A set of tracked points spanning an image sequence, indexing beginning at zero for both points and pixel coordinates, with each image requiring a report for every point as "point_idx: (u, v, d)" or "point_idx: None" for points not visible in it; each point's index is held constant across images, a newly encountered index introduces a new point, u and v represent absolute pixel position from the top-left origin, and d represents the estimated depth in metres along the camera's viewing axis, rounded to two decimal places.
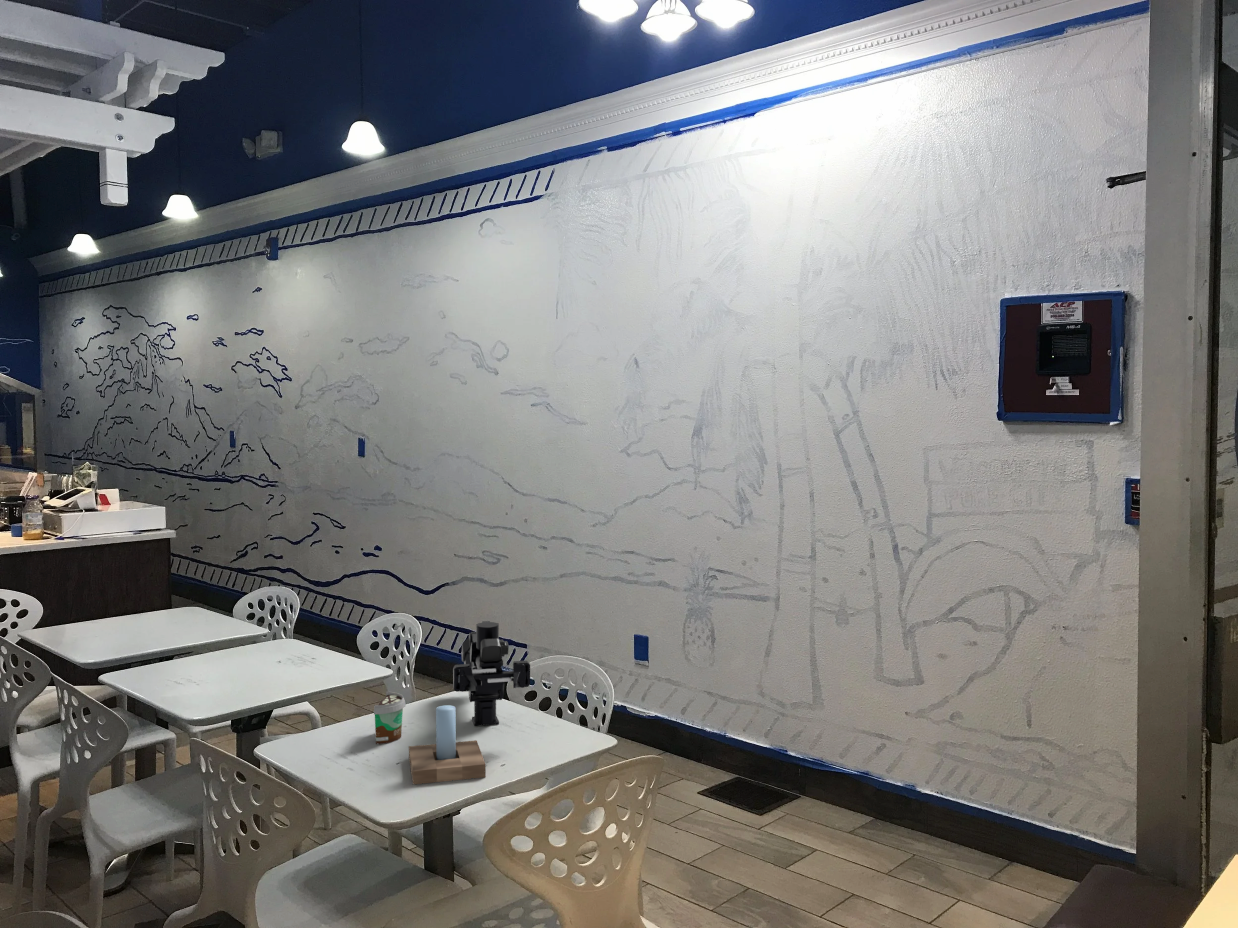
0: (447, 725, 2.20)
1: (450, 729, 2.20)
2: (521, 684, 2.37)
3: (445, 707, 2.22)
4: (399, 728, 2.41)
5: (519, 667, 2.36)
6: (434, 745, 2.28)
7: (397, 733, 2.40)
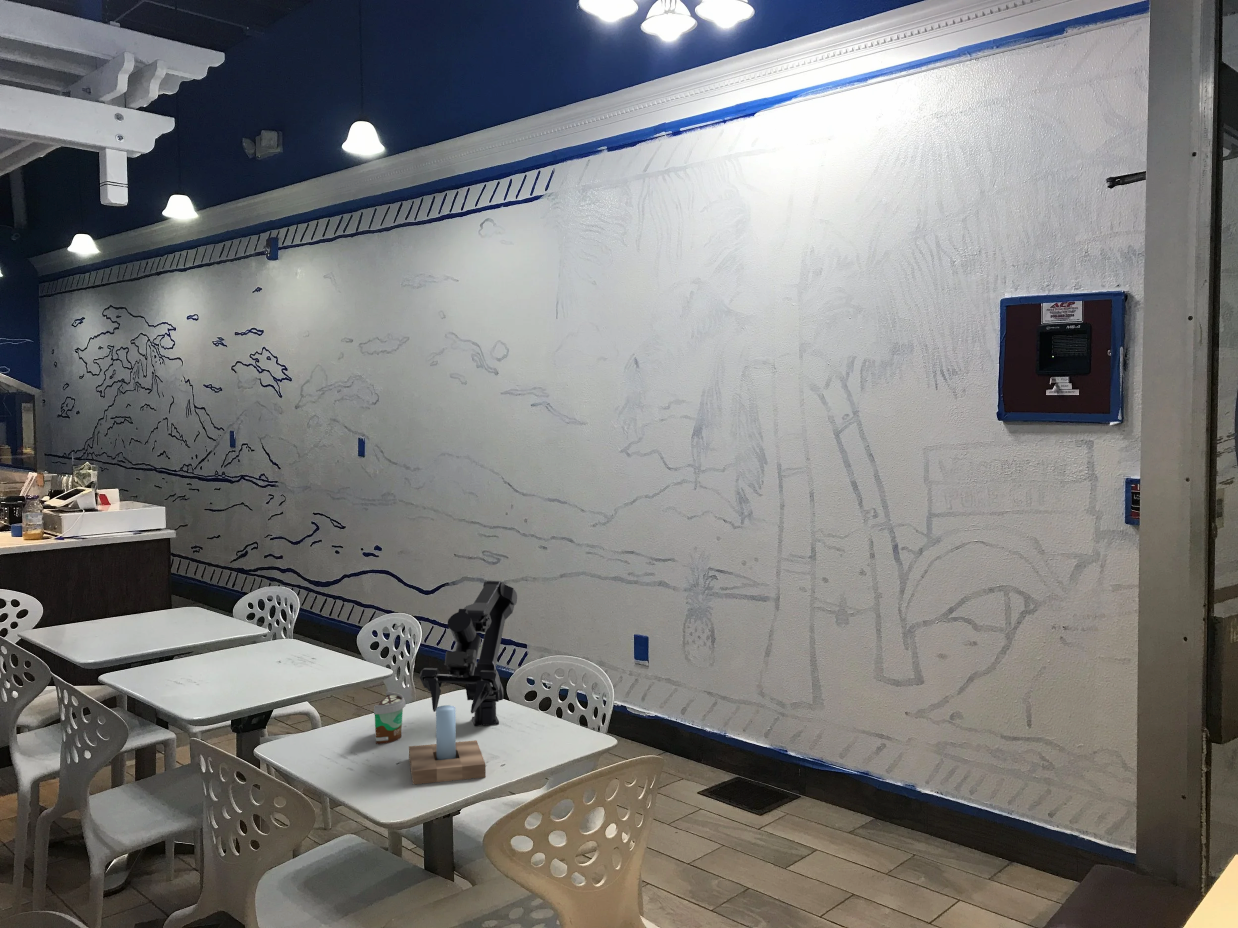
0: (447, 725, 2.20)
1: (450, 729, 2.20)
2: (488, 692, 2.32)
3: (445, 707, 2.22)
4: (399, 728, 2.41)
5: (482, 684, 2.28)
6: (434, 745, 2.28)
7: (397, 733, 2.40)
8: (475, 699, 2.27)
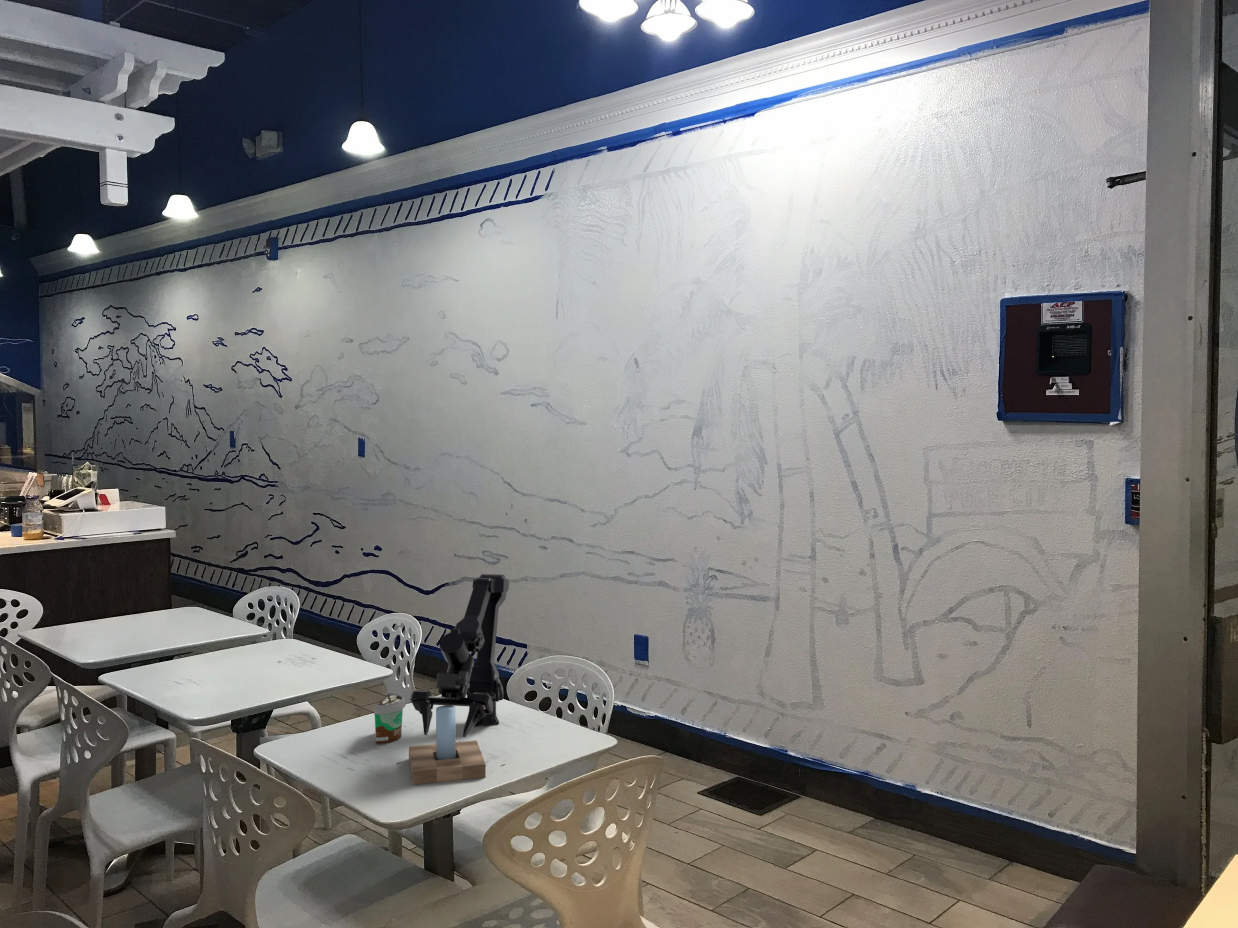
0: (447, 725, 2.20)
1: (450, 729, 2.20)
2: (481, 715, 2.26)
3: (445, 707, 2.22)
4: (399, 728, 2.41)
5: (475, 707, 2.22)
6: (434, 745, 2.28)
7: (397, 733, 2.40)
8: (467, 722, 2.21)
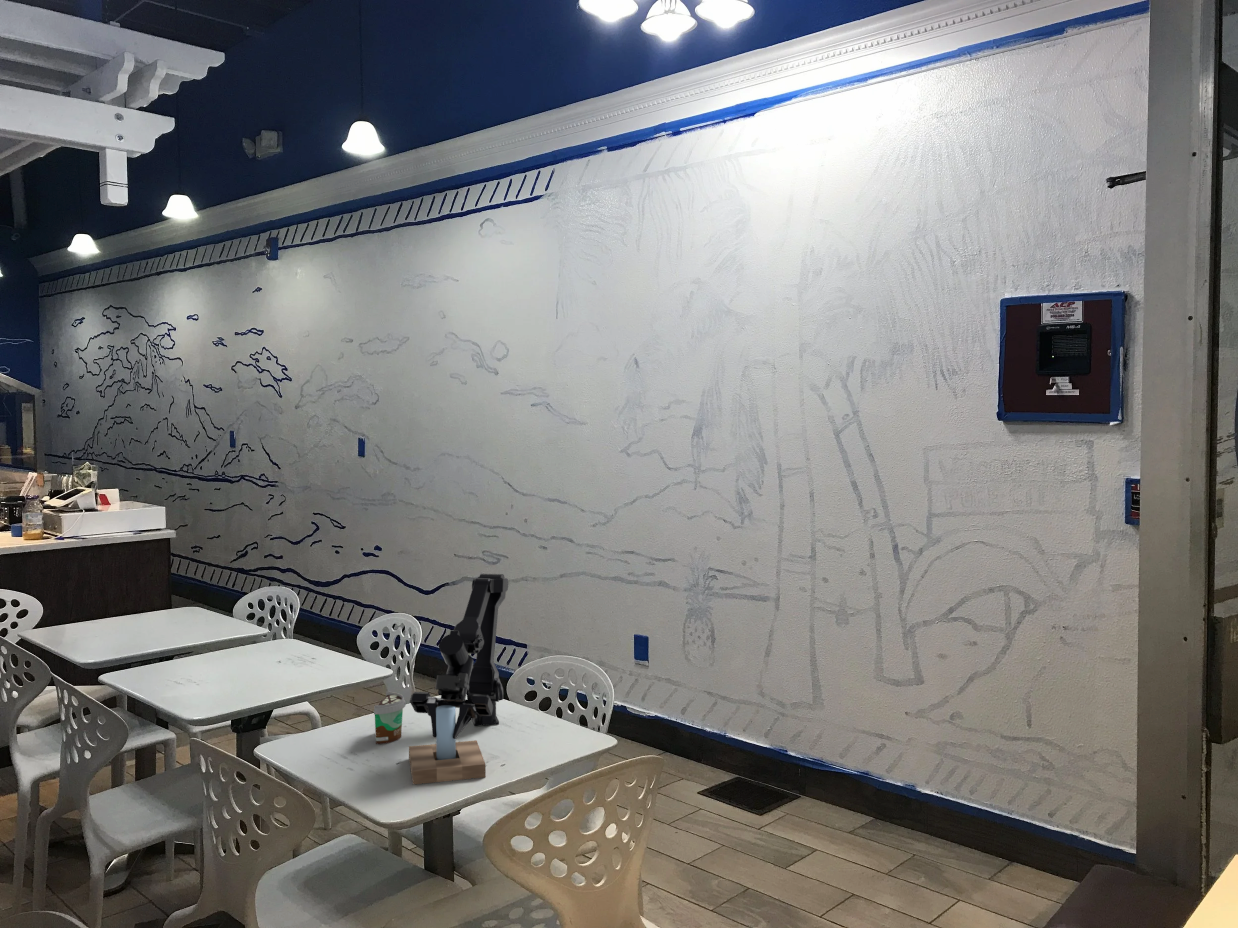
0: (447, 725, 2.20)
1: (450, 729, 2.20)
2: (471, 716, 2.26)
3: (445, 707, 2.22)
4: (399, 728, 2.41)
5: (465, 709, 2.22)
6: (434, 745, 2.28)
7: (397, 733, 2.40)
8: (458, 724, 2.21)
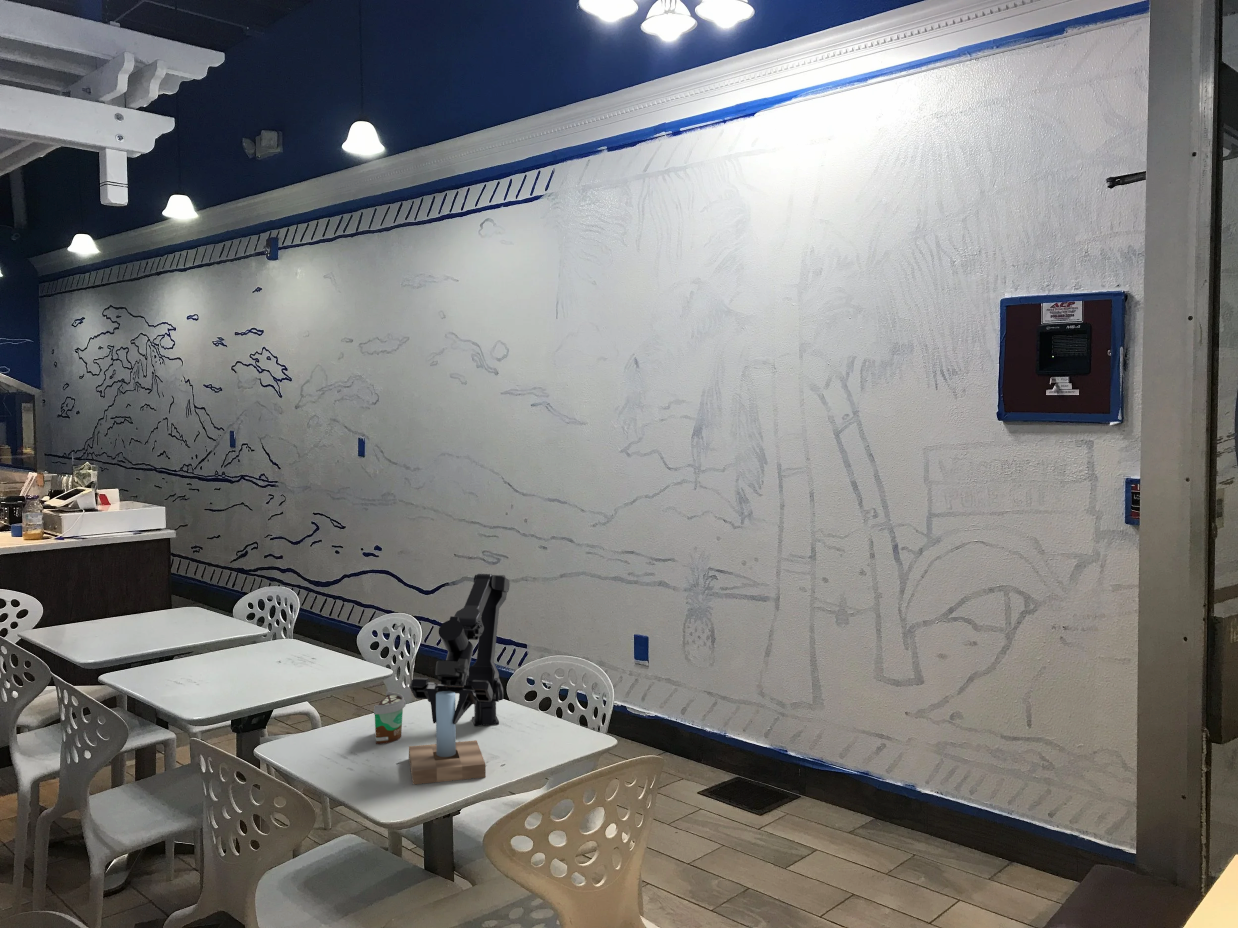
0: (447, 710, 2.19)
1: (450, 714, 2.20)
2: (471, 702, 2.25)
3: (445, 692, 2.22)
4: (399, 728, 2.41)
5: (465, 694, 2.22)
6: (434, 745, 2.28)
7: (397, 733, 2.40)
8: (457, 709, 2.21)
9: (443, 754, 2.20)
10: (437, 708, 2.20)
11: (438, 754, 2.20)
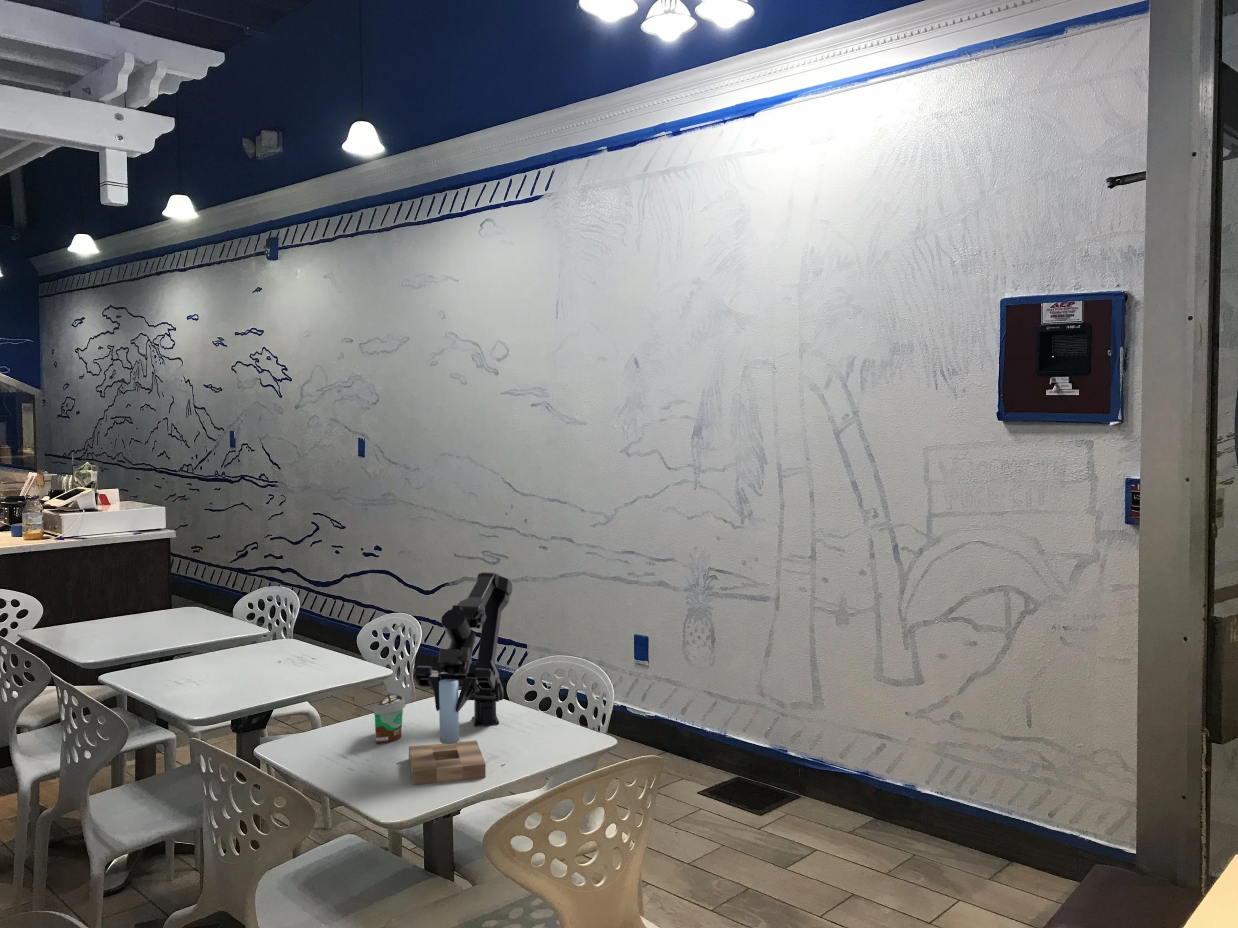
0: (450, 698, 2.22)
1: (453, 702, 2.22)
2: (474, 690, 2.28)
3: (448, 680, 2.24)
4: (399, 728, 2.41)
5: (468, 682, 2.24)
6: (434, 745, 2.28)
7: (397, 733, 2.40)
8: (460, 697, 2.23)
9: (446, 741, 2.22)
10: (440, 696, 2.22)
11: (441, 741, 2.23)
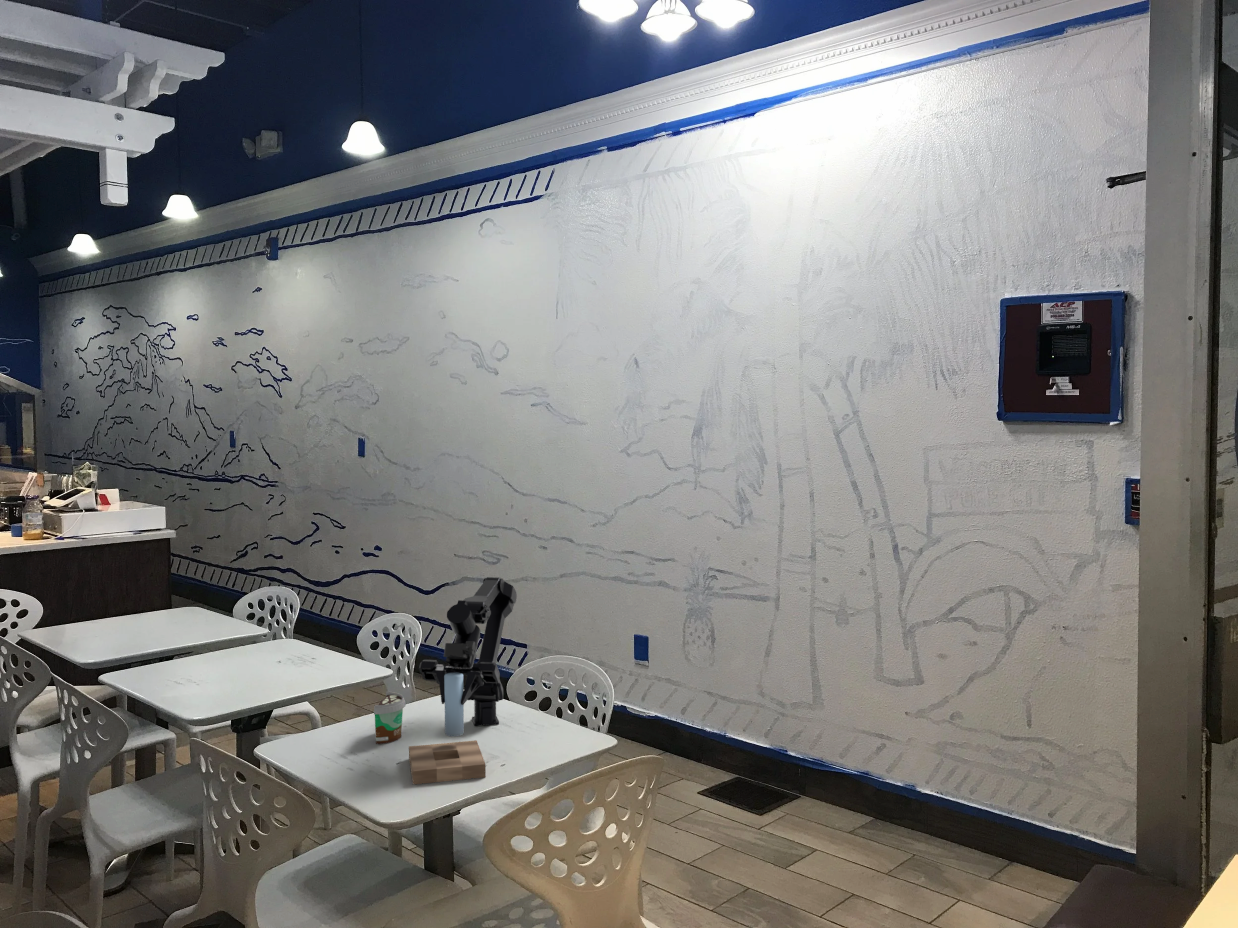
0: (455, 691, 2.26)
1: (458, 695, 2.26)
2: (479, 683, 2.32)
3: (453, 674, 2.28)
4: (399, 728, 2.41)
5: (473, 676, 2.28)
6: (434, 745, 2.28)
7: (397, 733, 2.40)
8: (465, 690, 2.27)
9: (451, 733, 2.26)
10: (445, 689, 2.26)
11: (446, 734, 2.27)
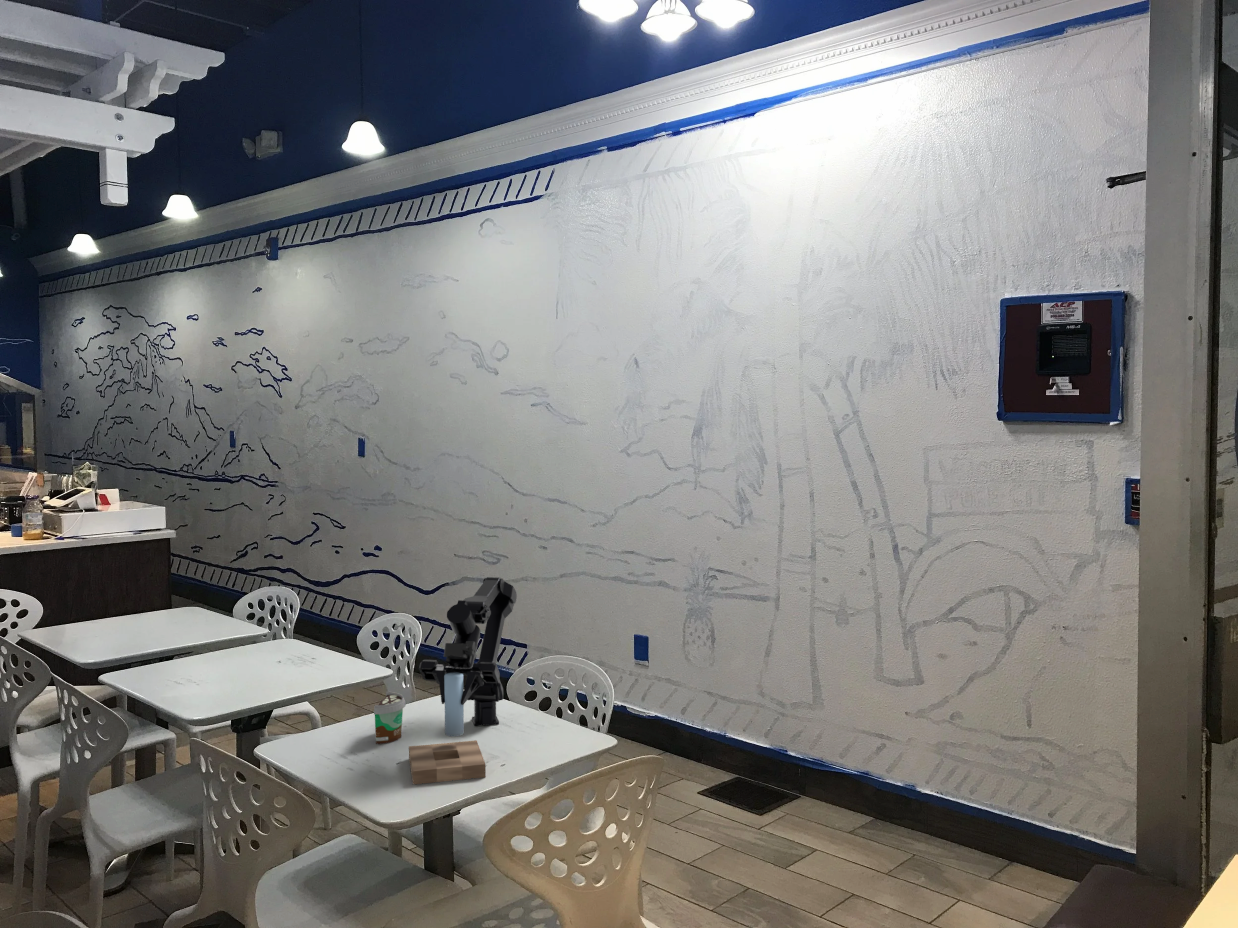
0: (455, 691, 2.26)
1: (458, 695, 2.26)
2: (479, 683, 2.32)
3: (453, 674, 2.28)
4: (399, 728, 2.41)
5: (473, 676, 2.28)
6: (434, 745, 2.28)
7: (397, 733, 2.40)
8: (465, 690, 2.27)
9: (451, 733, 2.26)
10: (446, 689, 2.26)
11: (446, 734, 2.27)
